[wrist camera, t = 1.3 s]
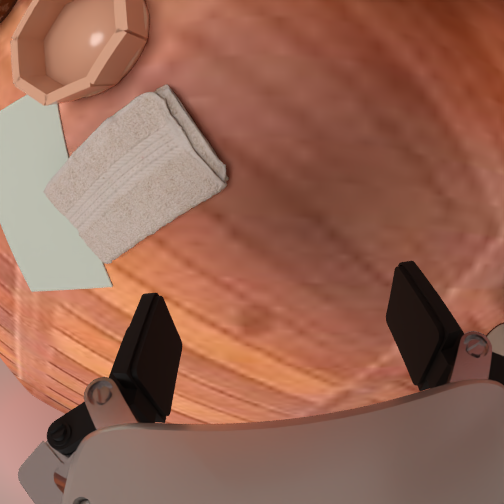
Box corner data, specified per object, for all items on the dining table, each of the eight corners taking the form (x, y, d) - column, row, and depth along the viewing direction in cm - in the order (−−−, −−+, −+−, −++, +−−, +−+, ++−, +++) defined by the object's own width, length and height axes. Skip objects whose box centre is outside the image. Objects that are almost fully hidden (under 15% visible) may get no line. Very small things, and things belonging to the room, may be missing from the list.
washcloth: (237, 175, 28) (236, 184, 25) (112, 260, 32) (102, 275, 29) (166, 76, 22) (157, 74, 20) (50, 185, 27) (35, 195, 24)
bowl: (40, 14, 16) (9, 10, 11) (145, -33, 15) (126, -53, 11) (49, 114, 23) (17, 122, 18) (156, 76, 22) (135, 74, 17)
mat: (-25, 128, 22) (-26, 129, 21) (54, 80, 21) (53, 80, 21) (32, 290, 35) (31, 291, 35) (112, 285, 34) (112, 286, 34)
